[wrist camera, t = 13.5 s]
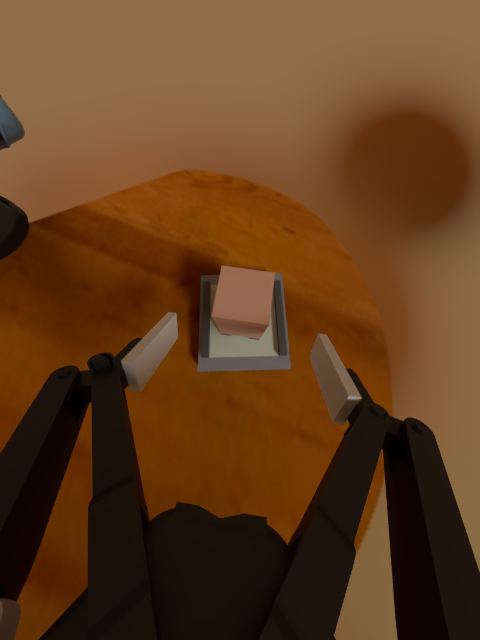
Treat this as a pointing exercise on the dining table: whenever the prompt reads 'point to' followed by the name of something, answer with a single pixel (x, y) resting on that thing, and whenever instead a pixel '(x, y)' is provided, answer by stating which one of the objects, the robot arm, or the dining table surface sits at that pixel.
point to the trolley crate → (243, 302)
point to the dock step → (241, 350)
